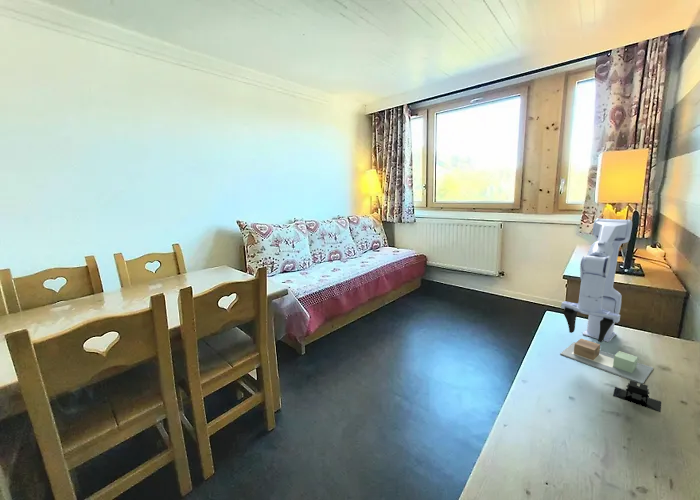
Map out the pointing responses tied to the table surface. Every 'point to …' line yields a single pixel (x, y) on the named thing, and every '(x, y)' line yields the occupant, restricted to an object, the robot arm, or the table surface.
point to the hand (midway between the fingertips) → (585, 336)
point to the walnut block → (587, 349)
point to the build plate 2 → (637, 396)
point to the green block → (625, 361)
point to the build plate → (610, 365)
